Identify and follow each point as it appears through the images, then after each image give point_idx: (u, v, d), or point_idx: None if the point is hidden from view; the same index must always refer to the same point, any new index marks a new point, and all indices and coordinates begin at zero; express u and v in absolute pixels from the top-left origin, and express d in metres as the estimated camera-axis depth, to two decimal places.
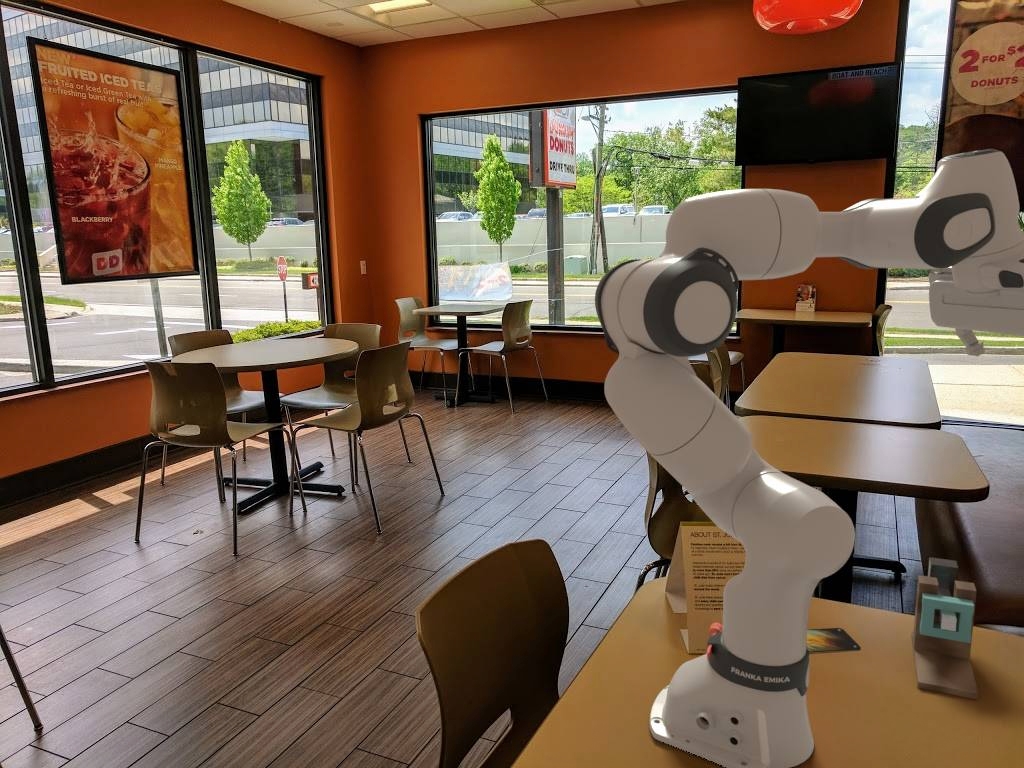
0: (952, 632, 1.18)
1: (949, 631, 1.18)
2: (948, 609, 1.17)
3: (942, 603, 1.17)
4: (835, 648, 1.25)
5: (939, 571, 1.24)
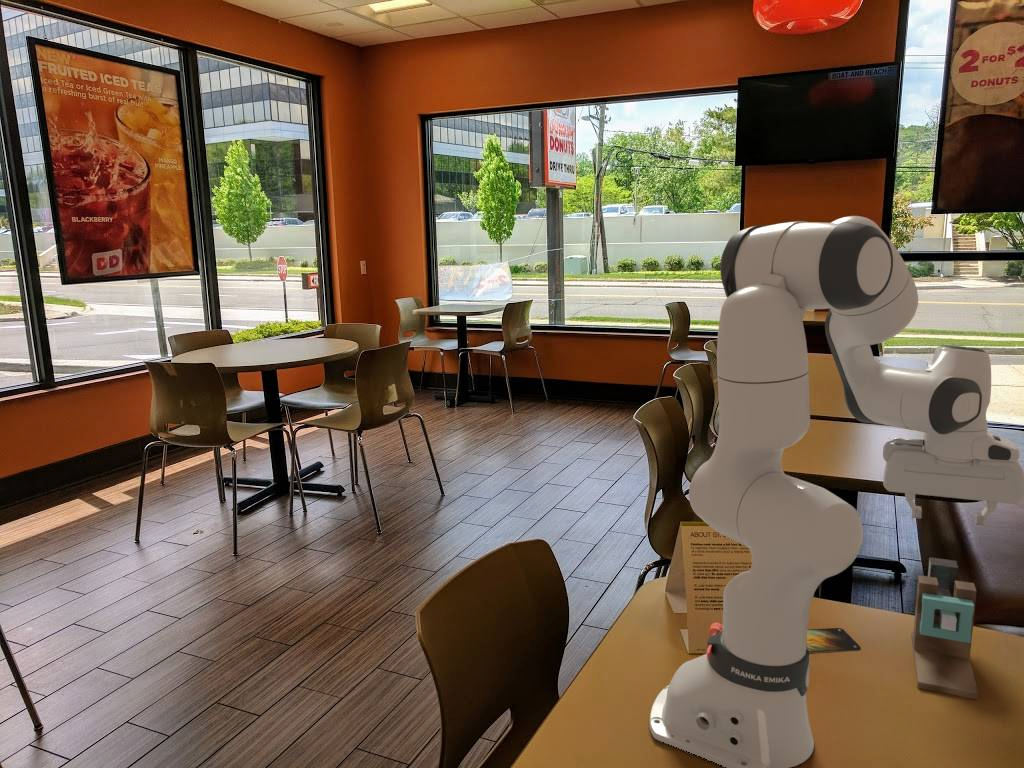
0: (952, 632, 1.18)
1: (949, 631, 1.18)
2: (948, 609, 1.17)
3: (942, 603, 1.17)
4: (835, 648, 1.25)
5: (939, 571, 1.24)
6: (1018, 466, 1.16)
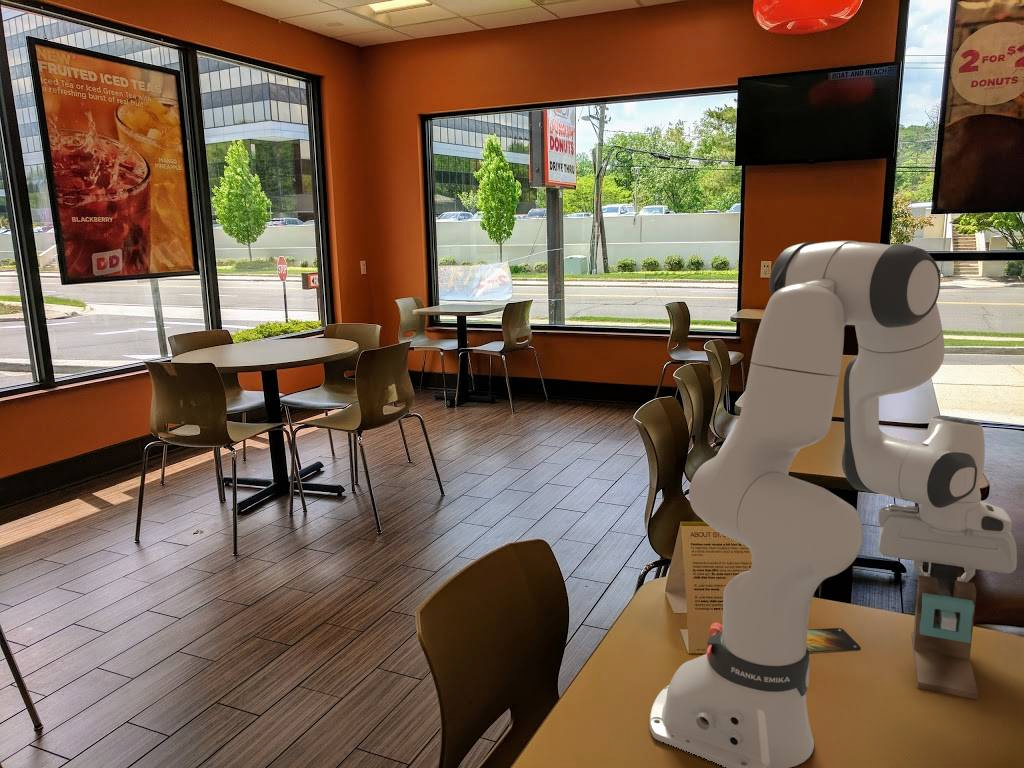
0: (952, 632, 1.18)
1: (949, 631, 1.18)
2: (948, 609, 1.17)
3: (942, 603, 1.17)
4: (835, 648, 1.25)
5: (939, 571, 1.24)
6: (1010, 537, 1.18)
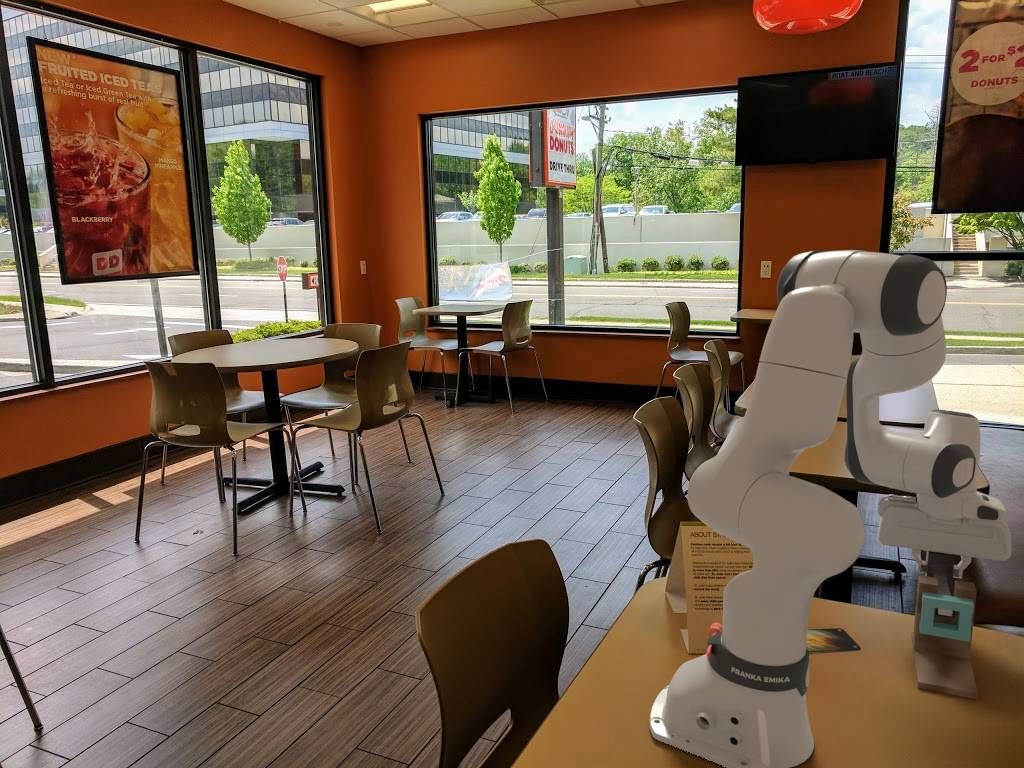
0: (952, 631, 1.18)
1: (949, 630, 1.18)
2: (948, 608, 1.18)
3: (942, 602, 1.18)
4: (835, 648, 1.25)
5: (936, 560, 1.29)
6: (1005, 526, 1.23)
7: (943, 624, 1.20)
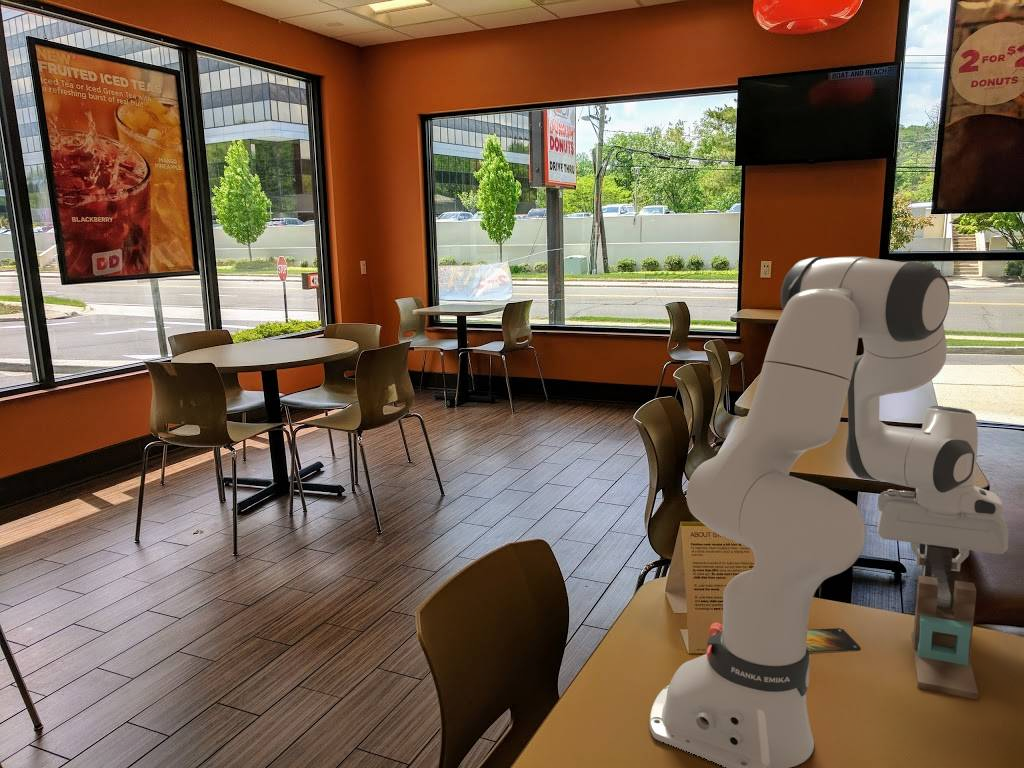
0: (950, 654, 1.19)
1: (947, 653, 1.19)
2: (946, 632, 1.18)
3: (940, 626, 1.18)
4: (835, 648, 1.25)
5: (935, 553, 1.32)
6: (1002, 520, 1.25)
7: (941, 647, 1.20)
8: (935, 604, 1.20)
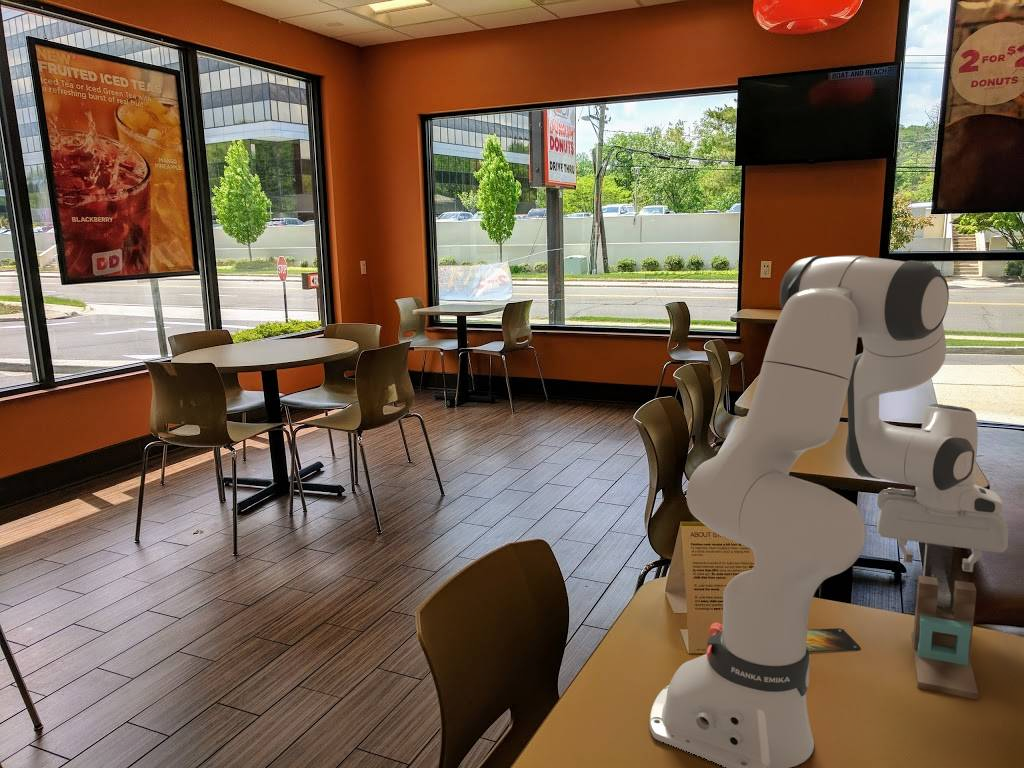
0: (950, 654, 1.19)
1: (947, 653, 1.19)
2: (946, 632, 1.18)
3: (940, 626, 1.18)
4: (835, 648, 1.25)
5: (935, 553, 1.32)
6: (1002, 518, 1.25)
7: (941, 647, 1.20)
8: (935, 604, 1.20)
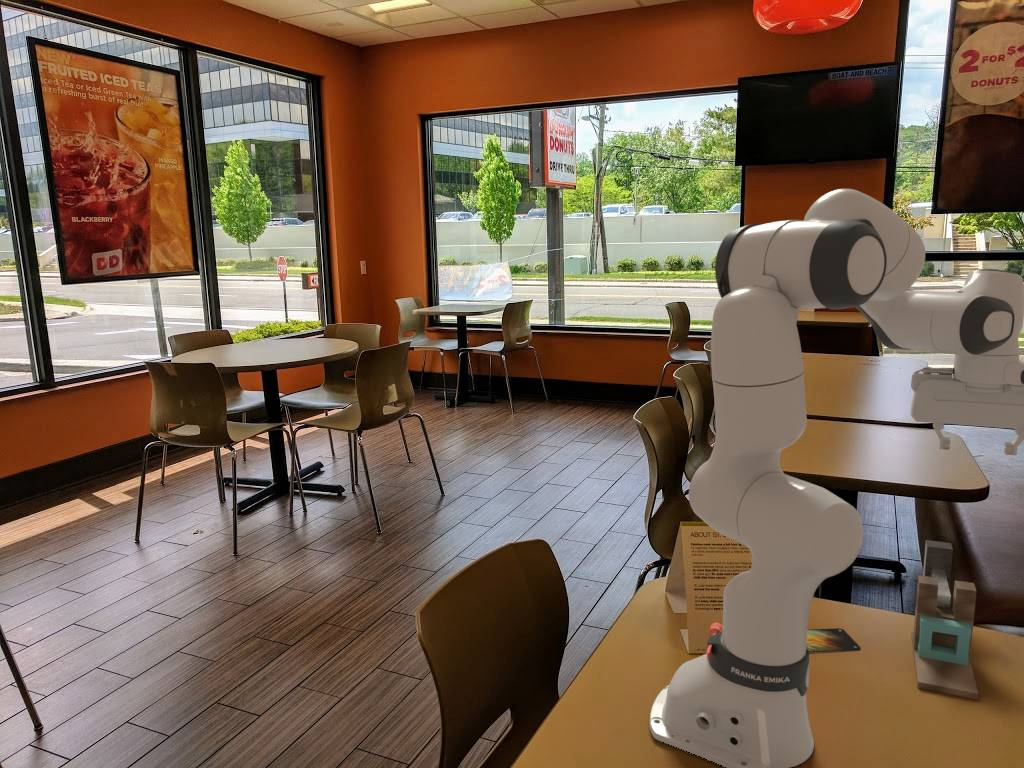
0: (950, 654, 1.19)
1: (947, 653, 1.19)
2: (946, 632, 1.18)
3: (940, 626, 1.18)
4: (835, 648, 1.25)
5: (935, 553, 1.32)
6: None
7: (941, 647, 1.20)
8: (935, 604, 1.20)
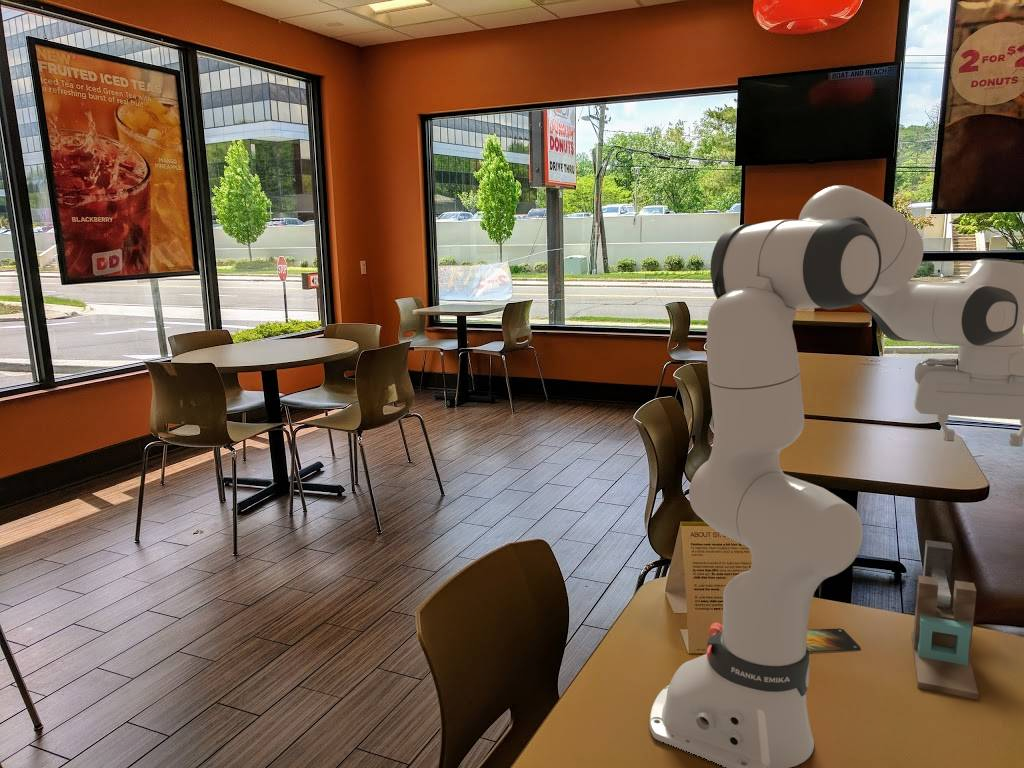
0: (950, 654, 1.19)
1: (947, 653, 1.19)
2: (946, 632, 1.18)
3: (940, 626, 1.18)
4: (835, 648, 1.25)
5: (935, 553, 1.32)
6: None
7: (941, 647, 1.20)
8: (935, 604, 1.20)
